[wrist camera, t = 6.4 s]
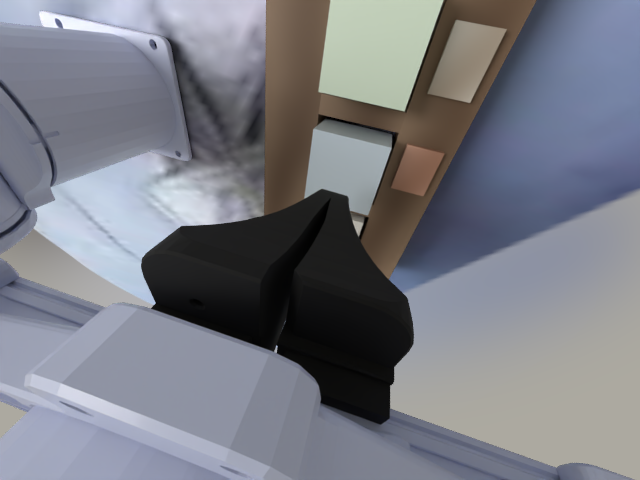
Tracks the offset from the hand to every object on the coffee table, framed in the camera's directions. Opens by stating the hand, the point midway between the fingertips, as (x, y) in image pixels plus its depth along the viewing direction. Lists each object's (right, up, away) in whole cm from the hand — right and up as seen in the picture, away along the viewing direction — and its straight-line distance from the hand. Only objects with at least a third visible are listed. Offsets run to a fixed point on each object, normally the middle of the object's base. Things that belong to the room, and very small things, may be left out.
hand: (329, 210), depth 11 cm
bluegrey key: (+2, +4, +4) cm, 6 cm away
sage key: (+2, +8, 0) cm, 8 cm away
